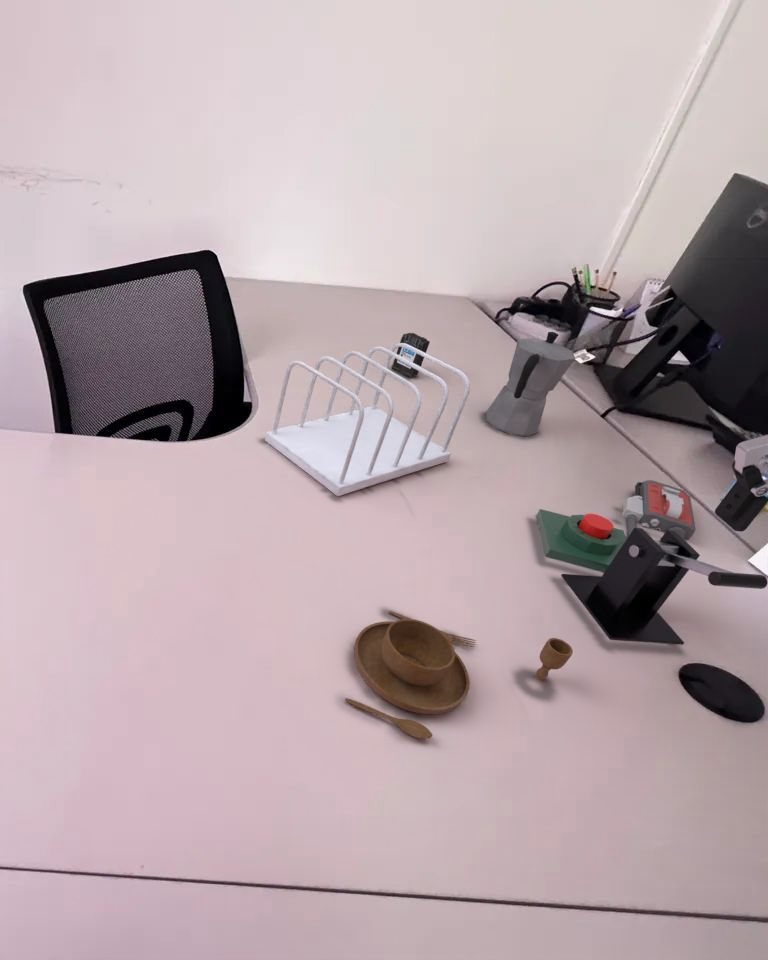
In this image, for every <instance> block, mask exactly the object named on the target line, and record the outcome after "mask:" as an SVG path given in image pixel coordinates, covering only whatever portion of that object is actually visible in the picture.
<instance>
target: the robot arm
mask: <svg viewBox="0 0 768 960" xmlns="http://www.w3.org/2000/svg"><path fill="white" fill-rule="evenodd" d="M731 469H732V471H733V476H732V479H733V480H734V481H735V483H734V484H733V485H732V487H731V488H730V489H729V491H728V492H727V493H726V494H725V496H724V497H723V498H722V499H721V501H720V502H719V504H718V505H717V507H715V510H714V514H715V515H716V516H717V517H718V518H719V519H720V520H721V521H723V522H724V523H725V524H726V525H727V526H729V527H730V528H731V529H732V530H733V531H734V532H745V531H746V530H747V529H748V527H749V526H751V524H752V523H753V521H754V520H755V519H756V518H757V516H758V515H759V514H760V512H761V511H762V510H763V509H764V508H765V506H766V505H767V504H768V497H767V496H766V495H768V478H765V479H764V478H763V475H762V474H763V473H766V472H767V471H768V434H765V435H762V436H757V437H754V438H750V439H747V440H744V441H741V442H739V443H738V444H737V445H736V447H735V453H734V460H733V462H732V464H731Z"/></svg>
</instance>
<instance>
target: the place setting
mask: <svg viewBox="0 0 768 960" xmlns="http://www.w3.org/2000/svg"><path fill="white" fill-rule="evenodd" d="M388 613H389V614H391V615H393V616H395V617H397V618H399V619H397V620H394V621H391V620H390V621H389V620H388V621H385V620H384V621H378V622H374V623H371V624H369V625H367V626H366V627H364V628H363V629H362V630H361V631H360V632H359V633H358V634H357V637H356V639H355V642H354V645H353V659H354V663H355V665H356V668H357V671H358V673H359V674H360V676H361V677H362V679H363V681H364V682H365V683H366V684H367V685H368V686H369V688H371V689H372V690H373V691H374V692H375V693H376V694H377V695H378V696H380V697H381V698H382V699H384V700H385V701H387V702H388V703H390V704H392V705H394V706H396V707H398V708H400V709H403V710H406V711H409V712H412V713H417V714H422V715H439V714H444V713H447V712H451V711H452V710H454V709H456V708H458V706H460V705H461V704H462V703H463V702H464V701H465V699H466V698H467V696H468V694H469V690H470V686H471V681H470V675H469V671H468V670H467V667H466V665H465V664H464V662H463V660H462V658H461V657H460V656H459V654H458V653H457V652H456V651H455V648H454V645H453V643H454V644H457V645H460V646H465V647H470V648H475V646H476V643H477V640H476V639H473V638H468V637H464V636H460V635H456V634H452V633H447V632H445V631H443V630H440V629H438V628H436V627H435V626H433V625H432V624H430V623H427V622H425V621H423V620H419V619H413V618H410V617H408V616H405V615H402V614H400V613H397V612H394V611H391V610H388ZM573 653H574V650H573V648H572V646H571V645H570V644H569V643H568V642H566V641H565V640H563V639H561V638H558V637H550V638H548V639H547V641H546V642H545V643H544V645H543V647H542V648H541V651H540V653H539V660H540V662H541V664H542V665H541V667H540V668H538V669H537V670H536V676H535V679H536V680H538V681H543V680H544V679H547V678H548V676H549V672H550V671H551V670H559V669H562V668H563V667H564V666H565V665H566V663H567V662H568V661H569V659H570V658H571V657H572V655H573ZM344 701H345V702H346V703H348V704H350V705H352V706H354V707H357V708H359V709H361V710H364V711H365V712H366V711H367V712H369V713H372V714H373V715H377V716H379V717H381V718H384V719H387V720H388V721H390V722H393V723H394V724H395V725H397V726H398V727H399V728H400V729H401V730H402V731H403V732H404V733H406V734H407V735H409V736H412V737H414V738H417V739H422V740H428V739H431V738H432V737H433V734H432V731H430V730H429V728H427V727H426V726H425V725H424V724H422V723H420V722H418V721H416V720H414V719H413V720H412V719H408V718H399V717H395V716H392V715H390V714H387V713H385V712H383V711H380V710H378V709H375V708H373V707H371V706H369V705H367V704H364V703H362V702H359V701H357V700H354V699H350V698H348V697H346V698H344Z"/></svg>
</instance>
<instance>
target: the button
mask: <svg viewBox="0 0 768 960" xmlns="http://www.w3.org/2000/svg"><path fill="white" fill-rule="evenodd" d="M583 515H584V517H583V519H582V520H581V522H580V523H579V525H578V528H579V529H580V530H582V531H583V532H584V533H585V534H587V535H589V536H591V537H594V538H598V539H606V538H607V537H608V536H609V534H610V533H611V531H612V530H613V528H614V524H613V523H612V522H611V521H610V520H609V519H608V518H606V517H604V516H602V515H599V514H597V513H586V514H583Z"/></svg>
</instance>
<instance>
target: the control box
mask: <svg viewBox="0 0 768 960" xmlns="http://www.w3.org/2000/svg"><path fill="white" fill-rule="evenodd" d="M584 515H585V514H572V515H570V516H569V515H565V514H561V513H557V512H554V511H551V510H550V511H549V510H546V509H542V508H539V510H538V511H537V513H536V515H535V519H536V523H537V526H538V531H539V535H540V539H541V543H542V547H543V551H544V555H545V558H549V559H553V560H556V561H560V562H564V563H567V564H571V565H574V566H578V567H582V568H585V569H589V570H592V571H593V570H594V571H597V572H601V573H604V572H605V571H606V569H607V568H608V566H609V565H610V563H611V562H612V560H613V559H614V557H615V556H616V554H617V553H618V551H619V550H620V548H621V547H622V545H623V544H624V542H625V541H626V539H627V538H628V537H627V536H626V534H625V531H624V530H623V529H620V528H616V527H613V530H612V531H611V533H610V534H609V536H608V537H607V538H606V539H598V538H594V537H591V536H589V535H587V534H585V533H584V532H583V531H582V530H580V529H579V528H578V525H579V523H580V522H581V520H582V519H583V517H584Z"/></svg>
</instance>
